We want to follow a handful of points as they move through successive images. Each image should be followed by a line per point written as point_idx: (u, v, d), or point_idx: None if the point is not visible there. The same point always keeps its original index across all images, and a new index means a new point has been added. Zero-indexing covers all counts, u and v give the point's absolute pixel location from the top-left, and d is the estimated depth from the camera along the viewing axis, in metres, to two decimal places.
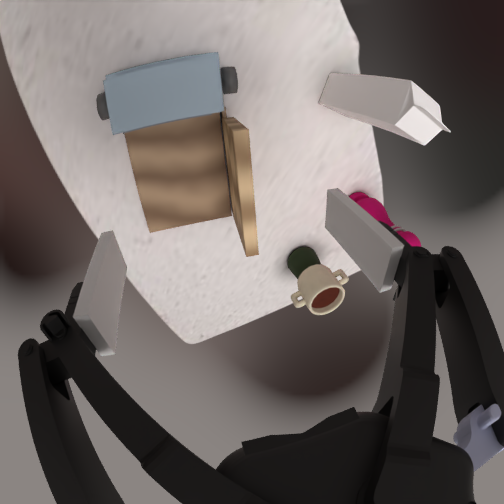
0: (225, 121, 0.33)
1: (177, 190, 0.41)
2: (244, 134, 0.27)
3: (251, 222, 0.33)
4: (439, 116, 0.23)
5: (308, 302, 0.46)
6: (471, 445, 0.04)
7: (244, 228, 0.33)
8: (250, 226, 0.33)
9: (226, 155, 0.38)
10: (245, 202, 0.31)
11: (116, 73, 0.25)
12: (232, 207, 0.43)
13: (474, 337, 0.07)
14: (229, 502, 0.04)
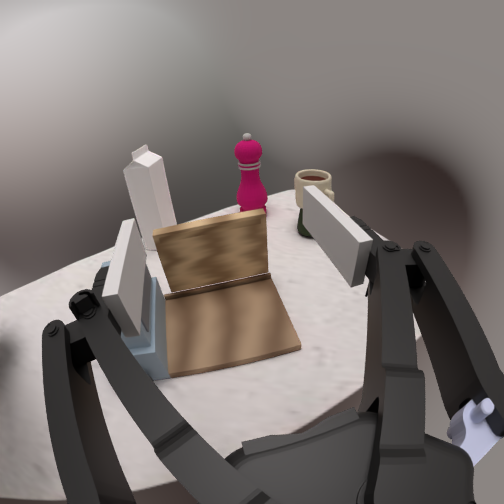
0: (166, 276, 0.41)
1: (245, 322, 0.39)
2: (156, 230, 0.37)
3: (230, 216, 0.39)
4: None
5: (319, 184, 0.49)
6: (467, 441, 0.05)
7: (235, 218, 0.38)
8: (234, 216, 0.39)
9: (203, 283, 0.43)
10: (211, 221, 0.38)
11: None
12: (257, 273, 0.45)
13: (457, 333, 0.07)
14: (237, 496, 0.04)
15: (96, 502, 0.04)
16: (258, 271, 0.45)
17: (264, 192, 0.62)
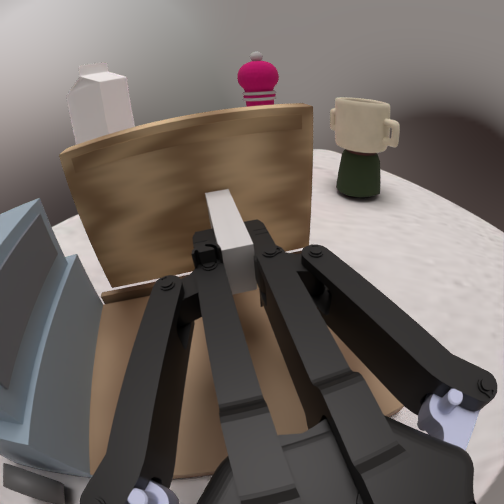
0: (95, 253, 0.18)
1: (269, 359, 0.16)
2: (71, 147, 0.14)
3: (232, 109, 0.15)
4: None
5: (377, 107, 0.26)
6: (448, 433, 0.05)
7: (246, 110, 0.15)
8: (241, 108, 0.15)
9: (175, 268, 0.20)
10: (188, 117, 0.15)
11: None
12: (286, 248, 0.22)
13: (389, 338, 0.08)
14: (270, 483, 0.04)
15: (137, 469, 0.05)
16: (290, 244, 0.21)
17: None
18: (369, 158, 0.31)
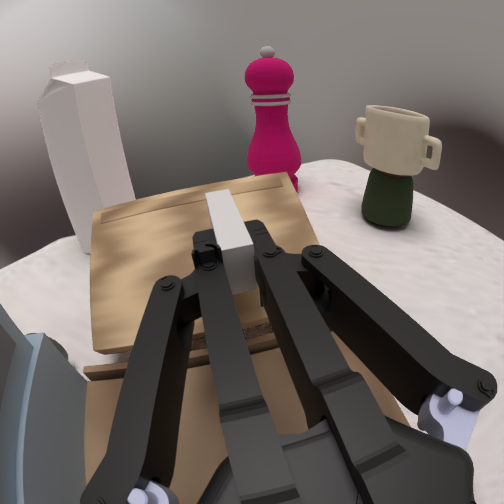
0: (90, 301, 0.16)
1: None
2: None
3: None
4: None
5: (417, 122, 0.20)
6: (448, 434, 0.05)
7: (235, 180, 0.21)
8: None
9: None
10: None
11: None
12: None
13: (389, 338, 0.08)
14: (270, 483, 0.04)
15: (137, 469, 0.05)
16: None
17: (297, 149, 0.33)
18: (403, 181, 0.25)
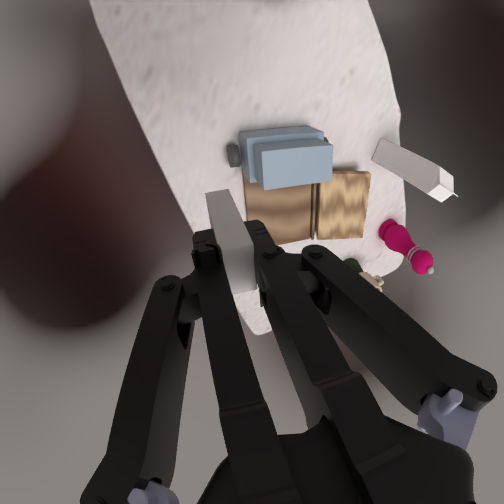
0: (336, 173, 0.53)
1: (276, 221, 0.59)
2: None
3: None
4: (452, 185, 0.41)
5: None
6: (448, 433, 0.05)
7: (364, 221, 0.60)
8: None
9: (322, 198, 0.56)
10: None
11: (255, 138, 0.43)
12: (319, 232, 0.61)
13: (389, 338, 0.08)
14: (270, 483, 0.04)
15: (137, 469, 0.05)
16: (320, 233, 0.62)
17: None
18: None
